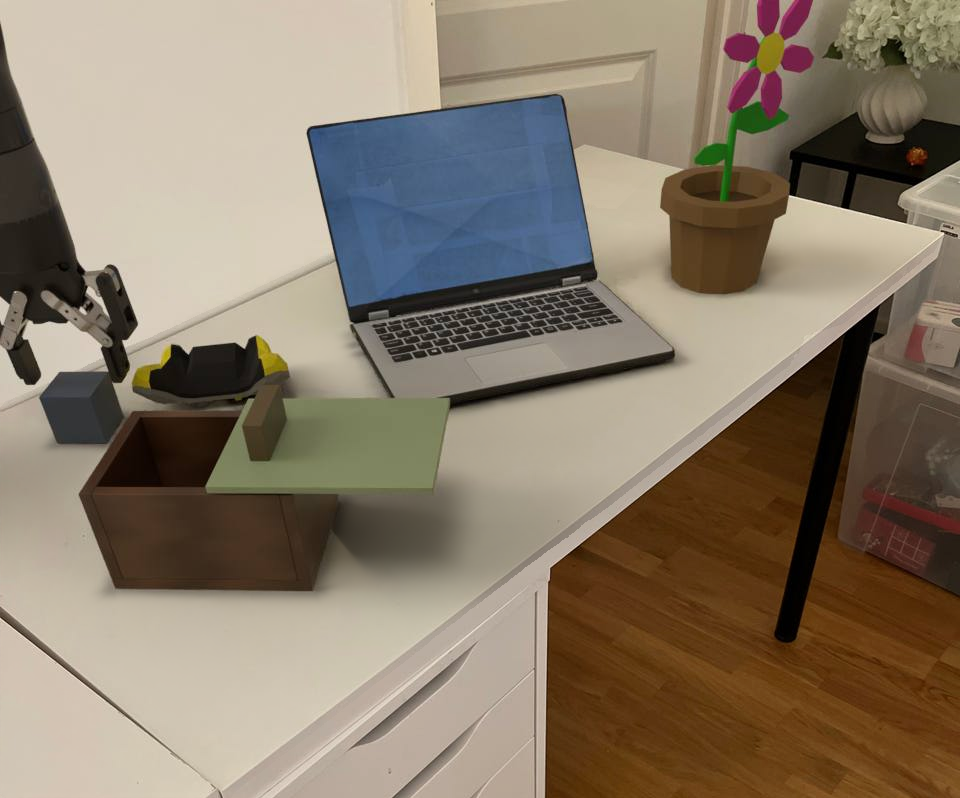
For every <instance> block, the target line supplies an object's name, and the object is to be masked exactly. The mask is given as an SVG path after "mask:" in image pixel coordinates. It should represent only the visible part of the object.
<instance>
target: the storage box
mask: <svg viewBox="0 0 960 798" xmlns="http://www.w3.org/2000/svg"><path fill="white" fill-rule="evenodd" d="M242 411H243V409H242V410H241V409H240V410H236V409H235V410H234V409H233V410H231V409H230V410H227V409H225V410H221V409H220V410H216V409H215V410H132V411H131V412H130V414H129V415H128V417H127V418H126V420H125V422H124V423H123V424H122V426H121V428H120V430H119V431H118V432H117V434H116V435H115V437H114V439H113V440H112V441H111V443H110V445H109V446H108V448H107V449H106V451H105V453H104V454H103V455H102V457H101V458H100V460H99V461H98V463H97V464H96V466H95V467H94V469H93V471H92V472H91V474H90V475H89V477H88V479H87V480H86V481H85V483H84V485H82V487H81V489H80V490H79V492H78V497H79V500H80V502H81V506H82V508H83V510H84V512H85V515H86V518H87V520H88V523H89V525H90V528H91V531H92V534H93V536H94V538H95V541H96V544H97V546H98V548H99V551H100V554H101V557H102V559H103V561H104V563H105V567H106V569H107V572H108V574H109V577H110V579H111V582H112V584H113V587H114V589H139V590H140V589H143V590H145V589H150V590H151V589H152V590H154V589H155V590H158V589H159V590H218V591H219V590H223V591H227V590H228V591H231V590H232V591H295V592H297V591H298V592H299V591H300V592H301V591H303V592H304V591H305V592H312V591H313V590H314V587H315V583H316V581H317V578H318V574H319V572H320V568H321V565H322V561H323V558H324V555H325V551H326V548H327V545H328V542H329V538H330V536H331V535H330V534H331V532H332V529H333V525H334V521H335V519H336V515H337V513H338V509H339V505H340V497H339V494H259V493H207V491H206V487H205V486H206V484H207V482H208V480H209V478H210V476H211V474H212V472H213V470H214V468H215V466H216V464H217V462H218V460H219V458H220V456H221V454H222V452H223V450H224V448H225V445H226V443H227V441H228V439H229V437H230V435H231V433H232V431H233V429H234V427H235V425H236V423H237V421H238V419H239V417H240V415H241V413H242Z"/></svg>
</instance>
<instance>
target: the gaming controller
mask: <svg viewBox="0 0 960 798" xmlns="http://www.w3.org/2000/svg"><path fill="white" fill-rule="evenodd" d="M290 378H291V374H290V369H289V365H288V362H286V361H285V359H283V358H282V357H281V355H279V353H276V352H272V350H271V347H270V345H269V343H268V342H267V341H266V340H265V339H264V338H263V337H261V336H260V335H258V334H254V335H252V336H251V337H249V338H248V340H247V343H246V345H245V347H243V346H241V345H240V344H239V343H237V342H226V343H216V344H207V345H198V346H192V347H191V350H190V351H189V353H188V352H186V350H185V349H183V347H182V346H181V345H180V344H179V343H174V342H172V343H171V344H170V345H168V346H167V347H165V348H164V350H163V352H162V354H161V359H160V362H159V363H154V364H145V365H142V366H140V367H137V368H136V370H135V372H134V375H133V378H132V381H131V388H132V393H134V394H136V395H138V396H141V397H143V398H144V399H147V400H149V401H151V402H154V403H156V404H161V405H174V404H175V405H176V404H180V403H184V404H189V406H191V407H195V408H203V407H204V406H208V405H210V404H211V402H213V401H220V400H221V401H222V400H229V399H234V400H235V401H236V402H237V401H242V400H243V398H247V397H250V396H253V395H254V396H256V395H257V393H258V391H259V389H260V386H261V385H280V387H281V386H283V385H284V384H285V382H287V381H288V380H289V379H290Z"/></svg>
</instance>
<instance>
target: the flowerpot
mask: <svg viewBox="0 0 960 798" xmlns="http://www.w3.org/2000/svg"><path fill="white" fill-rule="evenodd" d="M813 2H814V0H793V2H792V3H791V5H790V6H789V7H788V8H787V10H786V11H785V13H784V14H783V15H782V17H781V16H780V15H781V14H780V13H781V11H780V0H757V3H756V16H757V17H756V19H757V20H756V21H757V27H758V30H759V31H760V32H761V33H762V35H763V38H762V40H761V41H760V42H759V41H758V39H757V37H756V36H755V35H751V34H745V33H741V32H737V33H735V34H732V35H731V36H729V37H727V38H725V41H724V45H723V48H722V50H723V51H724V54H725V55H727V57H728V58H729V60H731V61H736V62H740V63H746V64H749V63H750V64H749V65H748V67H747V70H745V71H744V72H743V73H742V74H741V76H740V77H739V79H737V81H736V83H735V84H734V86H733V87H732V88H731V91H730V95H729V99H728V102H727V105H726V106H727V107H726V108H727V109H728V111H729V112H730V114H731V117H730V122H729V126H728V129H727V130H728V131H727V137H726V138H727V139H726V143H724V142H723V143H722V142H714V143H712V144H708V145H706V146H704V147H702V149H701V150H700V151H699V152H697V154H696V155H695V156H694V158H693V162H694V163H693V164H695V165H699V166H700V167H692V168H684V169H683V170H680V171H678V172H676V173H673V174H671V175H669V176H667V177H665V178H664V181H663V184H662V185H661V186H662V187H661V190H660V191H661V193H660V204H659V208H660V209H661V210H662V211H663V212H664V213H665V214H667V215H668V216H669V219H668V220H669V247H670V248H669V249H670V251H669V252H670V276H671V277H670V278H671V279H672V281H674V282H675V283H676V284H677V285H678V286H679V287H681V288H683V289H687V290H689V291H693V292H696V293H701V294H716V295H724V294H732V293H737V292H743V291H746V290H747V289H749V288H751V287H753V286H754V285H756V284H757V282H758V279H759V275H760V272H761V269H762V266H763V262H764V259H765V255H766V251H767V248H768V244H769V242H770V237H771V234H772V231H773V227H774V224H775V220H776V219H779V218H780V217H783V216H784V215H786V214H787V210H788V203H789V198H790V189H791V188H790V187H791V182H789V181H788V180H787V179H785V178H783V177H781V176H780V175H778V174H776V173H775V172H772V171H768V170H764V169H760V168H755V167H750V166H743V165H741V166H740V165H733V164H734V156H735V150H736V149H735V148H736V141H737V134H738V133H737V132H738V131H741V132H744V133H747V134H750V135H755V134H759V133H763V132H768V131H769V130H771V129H773V128H775V127H777V126H779V125H781V124H782V123H785V122H786V121H788V120H789V117H790V114H789V113H787V112H785V111H784V110H783V109H782V108H780V107H781V102H782V99H783V81H782V78H781V77H780V75H779V73H778V71H777V70H776V69H777V68H778V67H779V65H781V67H782V69H783V70H784V71H787V72H792V73H798V74H801V73H803V72H805V71H806V70H808V69H810V68H811V67H812V65H813V62H814V59H815V56H814V54H813V53H812V51H811V50H810V48H809V47H806V46H802V45H797V44H794V43H793V44H790V45H788V46H787V47H785V41H786V40H788V39H790V38H792V37H795V36H796V35H797V34H798V33H799V31H800V30H801V28H802V27H803V25H804V24H805V23H806V22H807V20H808V18H809V16H810V13H811V9H812V6H813ZM780 18H781V22H780V26H779V30H778V33H777V32H775V30H776V27H777V25H778V22H779V20H780ZM762 74H764V75H765V76H764V78H763V81H762V84H761V87H760V101H758V100H757V101H755V102H753V103H751V104H749V105H747V104H748V103H749V102H750V101H751V99H752V98H753V96H754V95H755V93H756V92H757V91H758V88H759V86H760V81H761V77H762ZM723 161H724V164H723V165H718V164H719V163H721V162H723Z"/></svg>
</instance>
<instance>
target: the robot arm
mask: <svg viewBox="0 0 960 798" xmlns="http://www.w3.org/2000/svg"><path fill="white" fill-rule="evenodd" d="M4 36H5V35H4V32H3V28H2V22H1V21H0V298H1V299H2V300H3V301H5V302H6V303H7V304H8V305H9V306H8V309H7V312H6V315H5V318H4V320H3V321H4V322H3V323H2V321H1V320H0V347H1V348H3V349H4V350H5V351H6V353H7V355H8V357H9V360H10V362H11V365H12V367H13V369H14V372H15V374H16V376H17V377H18V378H19V380H23V382H24V385H26V386H35V385H36V384H38V382H39V381H40V380H41V378H42V371H41V368H40V366H39V364H38V361H37V358H36V356H35V354H34V350H33V348H32V346H31V344H30V340H29V339H28V338H26V339H25V338H24V334H25V332H26V330H27V326H28V324H29V321H30V322H32V324H33V325H43V324H45V323H55V324H57V325H59V324H61V325H63V324H68V322H70V324H72V325H73V326H74V327H76V329H78V330H79V331H80V332H83V333H87V334H88V335H90V336H91V337H92V338H93V339H94V340H95V341H96V342H97V343H99V344H100V345H101V347H100V351H101V354H102V357H103V360H104V362H105V365H106V369H107V371H108V372H109V374H110V377H111V380H112V383H113V384H122V383H123V382H124V381H125V379H126V377H127V376H128V373H129V372H130V370H131V363H130V360H129V357H128V354H127V350H126V347H125V345H124V342H123V341H127V340H129V339H130V338H131V336H132V334H133V333H134V332H135V331H136V329H137V327H138V326H139V322H138V319H137V316H136V313H135V310H134V308H133V305H132V303H131V300H130V298H129V295H128V293H127V290H126V289H127V288H126V287H125V284H124V281H123V278H122V276H121V274H120V270H119V269H118V267H117V266H115V265H114V264H110V263H109V264H106V266H105V267H104V268H103V269H99V270H86V269H85V268H84V267H83V266H82V265H81V263H80V262H79V259H78V256H77V251H76V246H75V243H74V240H73V237H72V234H71V231H70V229H69V225H68V222H67V219H66V216H65V214H64V211H63V207H62V205H61V201H60V199H59V195H58V193H57V190H56V187H55V184H54V182H53V181H54V180H53V178H52V176H51V172H50V170H49V166H48V164H47V162H46V160H45V158H44V156H43V154H42V152H41V150H40V148H39V146H38V143H37V141H36V139H35V137H34V136H35V135H34V133H33V129H32V127H31V123H30V121H29V117H28V115H27V112H26V109H25V106H24V103H23V101H22V98H21V95H20V93H19V92H20V91H19V89H18V87H17V85H16V83H15V81H14V78H13V75H12V72H11V68H10V63H9V58H8V52H7V47H6V42H5V37H4ZM89 288H91V289H92V290H93V291H94V292H95V296H96V297H98V298H101V299H102V302H103V305H104V307H105V310H106V312H107V314H106V313H105V311H104V307H102V305H101V304H100V303H99V302H98V301H97V300H96V299H95V298H93V296H91V295H90V294H89V293H88V292H87V290H88V289H89ZM81 308H82V309H83V310H84V312H85V314H84V313H82V312H81V311H80V310H81Z"/></svg>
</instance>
